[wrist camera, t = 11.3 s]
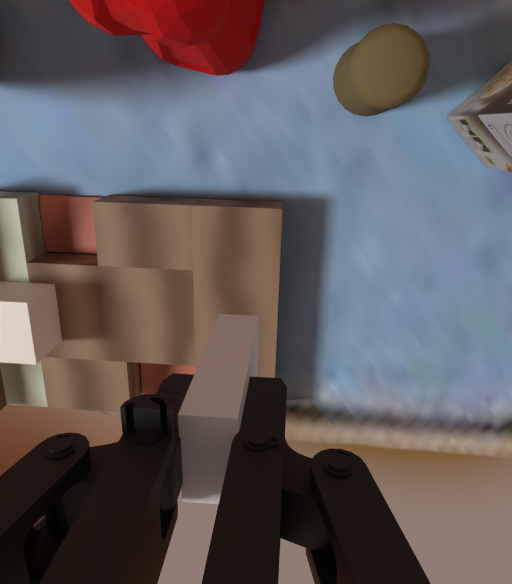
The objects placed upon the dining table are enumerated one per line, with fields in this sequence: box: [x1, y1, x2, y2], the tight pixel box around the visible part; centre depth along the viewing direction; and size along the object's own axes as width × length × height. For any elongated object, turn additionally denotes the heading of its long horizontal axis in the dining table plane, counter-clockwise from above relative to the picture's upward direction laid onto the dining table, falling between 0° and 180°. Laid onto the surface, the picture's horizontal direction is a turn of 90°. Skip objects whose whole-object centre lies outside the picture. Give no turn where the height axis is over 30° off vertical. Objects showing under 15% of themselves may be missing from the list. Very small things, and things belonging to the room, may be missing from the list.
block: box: [0, 281, 62, 365], centre depth 44 cm, size 6×6×5 cm
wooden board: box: [0, 191, 283, 412], centre depth 46 cm, size 30×22×6 cm
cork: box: [333, 23, 429, 116], centre depth 35 cm, size 6×6×11 cm
